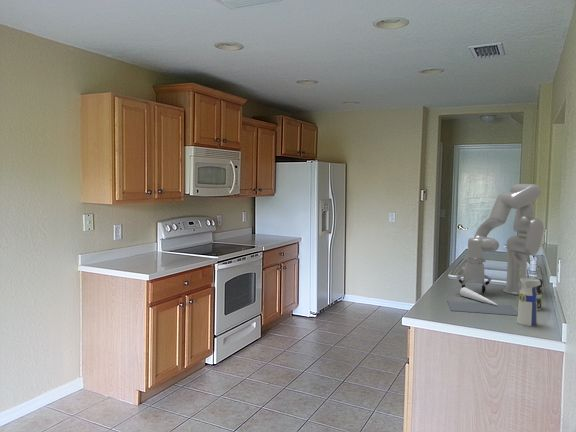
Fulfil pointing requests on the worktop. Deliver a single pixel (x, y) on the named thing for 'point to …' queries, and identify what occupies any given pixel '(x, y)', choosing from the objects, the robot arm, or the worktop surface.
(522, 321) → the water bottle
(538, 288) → the coffee can
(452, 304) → the mat
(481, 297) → the unicorn horn
